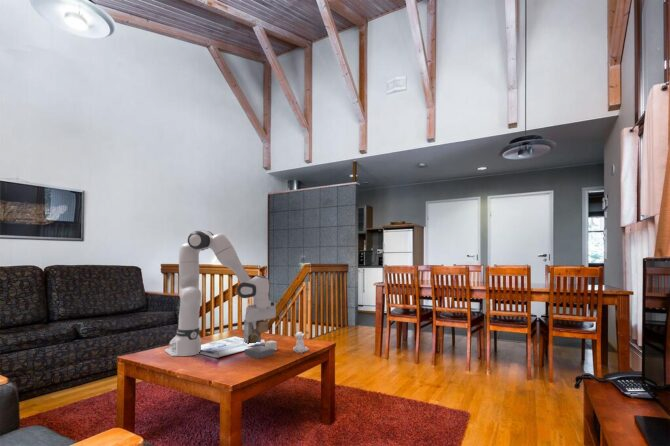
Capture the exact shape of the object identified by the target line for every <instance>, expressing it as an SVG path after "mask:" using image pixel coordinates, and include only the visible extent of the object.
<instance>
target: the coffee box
mask: <svg viewBox="0 0 670 446" xmlns="http://www.w3.org/2000/svg"><path fill="white" fill-rule="evenodd" d="M243 323H244V324H243V327H244V328H243V343H244V342H245V343H247V344H249V343H256V342H261V341H262V333H256V332H253V324H252V322H246V321H245V319H244V321H243ZM261 343H262V342H261Z"/></svg>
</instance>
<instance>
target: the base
mask: <svg viewBox="0 0 670 446" xmlns="http://www.w3.org/2000/svg"><path fill="white" fill-rule="evenodd" d="M275 351H276V350H275V349H272V348H268V347H265V345H257V346H252V347H250V348H249V347H248V348H246V349H245V348H244V356H247V357H251V358H254V359H258V360H259V359H264V358H266V357H269V356H270V357H271V356H274V355H275V353H276V352H275Z"/></svg>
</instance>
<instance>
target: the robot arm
mask: <svg viewBox="0 0 670 446" xmlns="http://www.w3.org/2000/svg"><path fill="white" fill-rule="evenodd" d="M208 249H211V251H212V252H213V253H214V255H215V257H216V259H217V260H218V262H220V265H222V266H224V267H226V268H228V269H230V270H231V271H232V272H233V273H234V275H235V276H236V278H237V279H238V282H240V284H238V285H237V288H236V293H237V296H238V297H239V298H242V299H248V298H253V302H252V303H253V304H252V305H251V304H250V305H248V306H247V307H246V309H245V315H244V317H245V318H244V320H245V321H246V322H252V324H253V326H254V329H257V327H258V326H256V324H255V323H256V321H260V320H265V321H268V323H269V322H270V320H271V319H275V318H276V316H277V309H276V304H277V303H276V302H275V301H272V300H270V298H269V292H270V281H269V278H268V277H266V276H264V275H255V276H254V277H252V278H251V277H250V275H249V274H248V272H247V271H246V269H245V267H244V266H243V264H242V262H241V260H240V258H239V256H238V254H237V251H236V250H235V247H234V246H233V244H232V243H231V241H230V240H229V238H228V237H227V236H226V235H225V234H224V233H216V234H214V233H212V232H211V231H208V230H195V231H192V232H191V233H190V234H189V235H188V237H187V242H185V243H183V244H181V245H180V247H179V252H178V277H179V279H178V292H179V293H178V295H179V299H180V303H179V313H178V326H177V327H178V328H177V329H176V333H175V336H174V337H173V338H172V339H171V340H170V341H169V343H168V348H165V349H164V352H165V353H167V354H168V355H169V356H171V357H190V356H195V355H198V354H200V353H201V352H200V350H201V348H202V339H201V336H200V312H201V311H200V310H201V304H202V302H201V301H202V291H201V290H200V286H199V285H200V255H199V254H200V252H202V251H205V250H208ZM199 352H200V353H199Z"/></svg>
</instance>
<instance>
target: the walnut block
mask: <svg viewBox="0 0 670 446" xmlns="http://www.w3.org/2000/svg"><path fill="white" fill-rule="evenodd" d="M255 324H256V326H258V327H257V329H254V326H253V332H256V333H261V334H262V333H266V332H267V333H268V332H269V322H268V321H265V320H260V321H256V323H255Z"/></svg>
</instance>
